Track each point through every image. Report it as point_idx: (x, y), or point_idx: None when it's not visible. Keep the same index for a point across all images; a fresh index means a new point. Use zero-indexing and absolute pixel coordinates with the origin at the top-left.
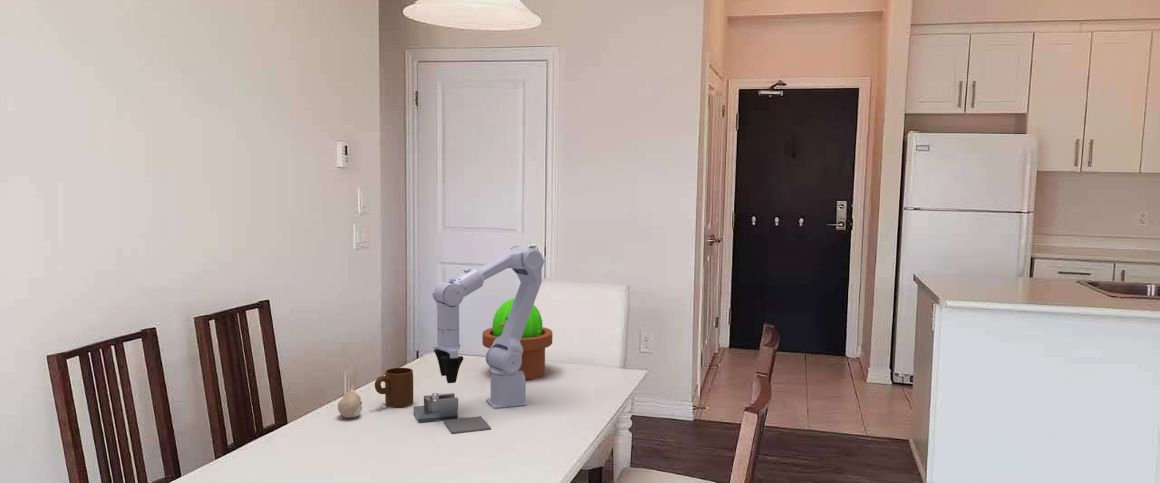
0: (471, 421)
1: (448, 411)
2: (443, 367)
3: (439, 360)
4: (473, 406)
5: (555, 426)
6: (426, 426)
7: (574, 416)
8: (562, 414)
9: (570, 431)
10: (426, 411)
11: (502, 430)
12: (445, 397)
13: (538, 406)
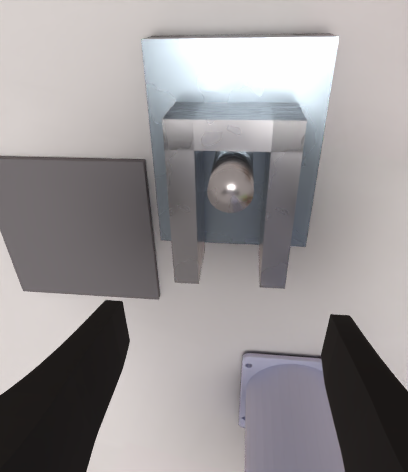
0: (102, 257)
1: None
2: (348, 384)
3: (381, 434)
4: (307, 310)
5: None
6: (92, 66)
7: (112, 456)
8: (133, 447)
9: None
10: (206, 100)
11: (16, 310)
12: (262, 237)
13: (219, 435)
